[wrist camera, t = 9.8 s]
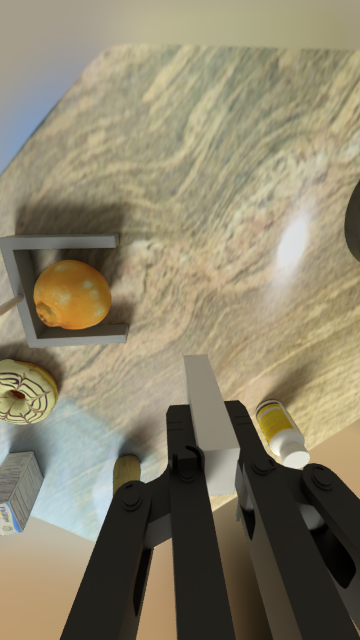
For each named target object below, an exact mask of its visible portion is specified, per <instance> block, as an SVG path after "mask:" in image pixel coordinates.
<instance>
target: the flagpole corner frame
mask: <svg viewBox="0 0 360 640" xmlns="http://www.w3.org/2000/svg"><path fill="white" fill-rule="evenodd" d="M119 244H120V243H119V234H55V235H12V236H7V237H1V238H0V249H1V253H2V256H3V259H4V263H5V266H6V270H7V273H8V277H9V280H10V283H11V287H12V290H13V294H14V298H12V299H11V300H9V301H8V302H6V303H4V304H3V305H1V306H0V316H1V315H3V314H4V313H6V312H7V311H9V310H10V309H11V308H13V307H14V306H16V305H17V307H18V311H19V314H20V318H21V321H22V324H23V328H24V331H25V335H26V338H27V342H28V345H29V348H37V347H57V346H77V345H97V344H116V343H126V340H127V336H128V324H109V325H93V326H90V327H87V328H83V329H65V328H62V327H48V326H47V325H45V324H44V322H43V321H40V318H39V316H38V313H37V311H36V304H35V302H34V298H33V296H34V287H35V284H36V278H35V274H34V270H33V266H32V262H31V258H30V254H29V250H28V249H69V248H116V247H117V246H118V245H119Z"/></svg>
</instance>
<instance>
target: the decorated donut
mask: <svg viewBox="0 0 360 640" xmlns="http://www.w3.org/2000/svg"><path fill="white" fill-rule="evenodd" d="M18 391H20V392H22V393H23V394H22V393H20V392H18ZM57 400H58V391H57V386H56V383H55V381H54V379H53V378H52V377H51V375H50V374H49V373H48V372H47V371H46V370H44V369H43V368H41V367H40V366H38V365H35V364H33V363H28V362H21V361H14V360H11V359H5V360H2V361H0V420H2V421H6V422H9V423H14V424H19V425H22V424H32V423H36V422H38V421H41V420H43V419H44V418H45V417H47V416H48V414H49V413H50V412H51V411H52V409H53V408H54V406H55V404H56V402H57Z"/></svg>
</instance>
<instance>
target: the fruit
mask: <svg viewBox="0 0 360 640" xmlns="http://www.w3.org/2000/svg"><path fill="white" fill-rule="evenodd" d="M33 298H34V302H35V304H36V311H37V313H38V316H39V318H40V321H43V322H44V324H45V325H48V326H50V327H54V326H60V327H62V328H65V329H83V328H87V327H90V326H93V325H95V324H97V323H99V322H100V321H102V320H103V319H104V318H105V317H106V315H107V313H108V311H109V309H110V307H111V292H110V289H109V286H108V284H107V282H106V280H105V278H104V277H103V276H102V275H101V274H100V272H98V271H97V270H96V269H95V268H93V267H92V266H90V265H88V264H86V263H84V262H81V261H77V260H62V261H59V262H56V263H54V264H52V265H50V266H49V267H47V268H46V269H45V270H44V271H43V272H42V274H41V275H40V276H39V278H38V280H37V281H36V284H35V287H34V296H33Z"/></svg>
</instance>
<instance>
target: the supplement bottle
mask: <svg viewBox="0 0 360 640" xmlns="http://www.w3.org/2000/svg"><path fill="white" fill-rule="evenodd" d="M255 416H256V419H257V421H258V423H259V425H260V428H261V430H262V432H263V434H264V436H265V438H266V440H267V442H268V444H269V446H270V448H271V450H272V451H273V453H274V454H276V455H277V456H280V459H281V461H282V462H283V464H284V466H286V467H290V468H294V469H298V468H301V467H303V466H305V465H306V464H307V463H308V461H309V460H310V455H309V453H308V451H307V450H306V448H305V446H304V443H305V440H304V437H303V435H302V433H301V432H300V430H299V428H298V427H297V425H296V424H295V422H294V421H293V419H292V418H291V416H290V414H289V413H288V411H287V410H286V408H285V407H284V405H283V404H282V403H281V402H279V401H276V400H269V401H265V402H263V403H262V404H260V405H259V406H258V408H257V409H256V412H255Z"/></svg>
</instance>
